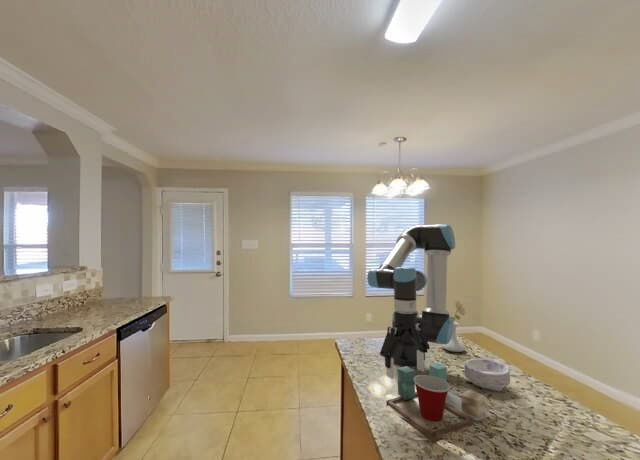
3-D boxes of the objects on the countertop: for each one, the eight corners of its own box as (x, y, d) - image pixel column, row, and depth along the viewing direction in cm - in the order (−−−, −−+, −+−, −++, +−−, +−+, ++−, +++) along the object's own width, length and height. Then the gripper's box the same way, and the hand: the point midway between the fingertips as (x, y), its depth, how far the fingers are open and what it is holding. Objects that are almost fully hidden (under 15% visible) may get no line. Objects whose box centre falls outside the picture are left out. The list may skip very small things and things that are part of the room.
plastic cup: (458, 430, 88) (457, 388, 88) (422, 432, 87) (422, 390, 87) (440, 410, 98) (440, 372, 99) (408, 411, 98) (408, 374, 98)
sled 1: (383, 404, 101) (383, 371, 102) (420, 393, 108) (419, 363, 109) (433, 443, 82) (432, 402, 82) (473, 426, 89) (473, 389, 89)
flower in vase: (454, 355, 146) (453, 304, 147) (436, 347, 156) (435, 299, 158) (473, 351, 151) (472, 301, 152) (455, 344, 162) (454, 298, 163)
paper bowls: (457, 384, 116) (457, 363, 116) (476, 374, 125) (475, 355, 126) (500, 401, 104) (499, 377, 104) (517, 388, 113) (516, 366, 113)
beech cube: (461, 410, 95) (461, 394, 95) (468, 405, 98) (468, 389, 99) (478, 417, 91) (477, 401, 92) (484, 411, 95) (484, 395, 95)
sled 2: (426, 394, 108) (426, 365, 108) (440, 390, 111) (440, 362, 111) (477, 424, 90) (476, 390, 90) (492, 418, 93) (491, 385, 93)
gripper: (383, 317, 95) (383, 385, 94) (439, 310, 106) (440, 371, 105) (369, 312, 102) (369, 375, 101) (423, 306, 113) (424, 363, 112)
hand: (405, 373), depth 103 cm, fingers open, 13 cm apart
